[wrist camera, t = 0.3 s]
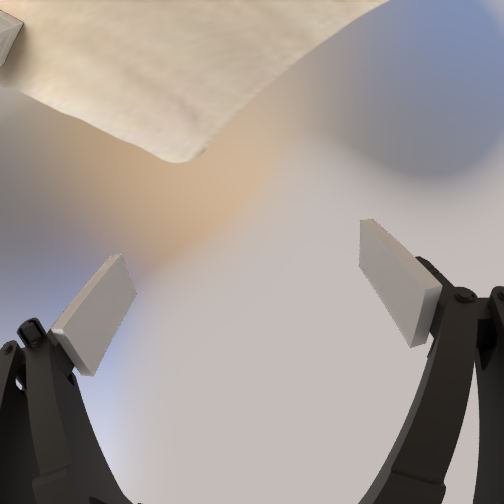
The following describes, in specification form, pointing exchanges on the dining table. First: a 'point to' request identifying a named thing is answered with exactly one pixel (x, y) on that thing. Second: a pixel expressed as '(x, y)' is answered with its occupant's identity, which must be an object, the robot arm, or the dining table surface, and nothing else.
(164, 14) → the dining table surface
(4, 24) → the supplement box
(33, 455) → the robot arm
